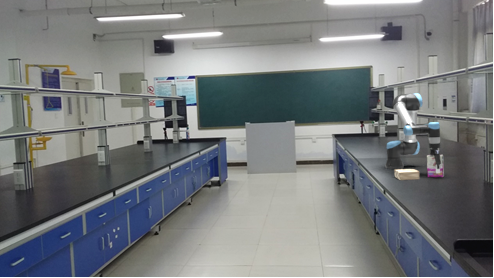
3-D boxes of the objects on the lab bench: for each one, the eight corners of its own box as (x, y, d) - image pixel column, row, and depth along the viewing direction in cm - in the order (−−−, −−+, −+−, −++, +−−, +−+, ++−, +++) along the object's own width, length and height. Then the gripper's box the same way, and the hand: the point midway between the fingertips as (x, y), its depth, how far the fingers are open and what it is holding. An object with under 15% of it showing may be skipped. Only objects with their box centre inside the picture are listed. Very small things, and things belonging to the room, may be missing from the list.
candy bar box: (443, 176, 312) (443, 154, 311) (443, 177, 308) (443, 155, 307) (427, 176, 318) (427, 154, 317) (427, 177, 313) (426, 155, 312)
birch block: (394, 177, 322) (394, 169, 322) (413, 176, 321) (413, 168, 321) (399, 180, 308) (399, 172, 308) (419, 179, 307) (419, 171, 307)
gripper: (424, 141, 323) (425, 169, 325) (434, 144, 300) (435, 174, 301) (434, 141, 322) (435, 169, 324) (445, 144, 299) (446, 174, 301)
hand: (435, 172), depth 313 cm, fingers open, 11 cm apart
